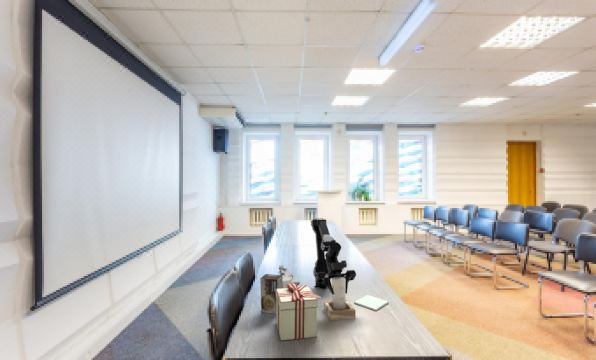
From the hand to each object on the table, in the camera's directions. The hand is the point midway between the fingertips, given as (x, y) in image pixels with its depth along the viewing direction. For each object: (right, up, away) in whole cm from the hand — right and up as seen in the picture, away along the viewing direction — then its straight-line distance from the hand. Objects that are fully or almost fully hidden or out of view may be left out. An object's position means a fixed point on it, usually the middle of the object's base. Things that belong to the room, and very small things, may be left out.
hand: (339, 293), depth 131 cm
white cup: (-26, -10, +21) cm, 35 cm away
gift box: (-19, -10, -12) cm, 24 cm away
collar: (0, -9, +1) cm, 10 cm away
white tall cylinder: (0, -7, 0) cm, 7 cm away
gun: (-28, -11, +55) cm, 63 cm away
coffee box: (-31, -10, +6) cm, 33 cm away
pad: (+17, -9, +12) cm, 23 cm away
